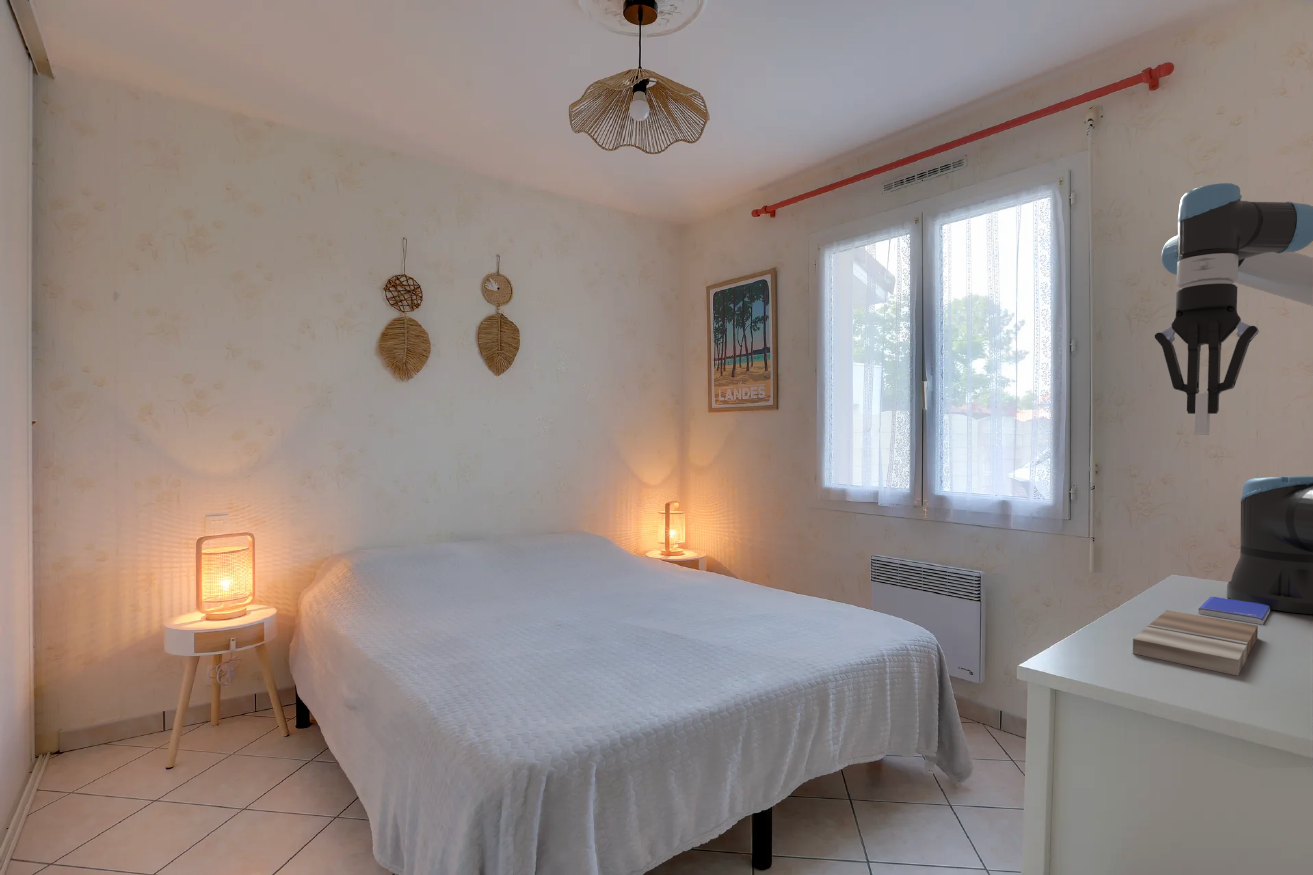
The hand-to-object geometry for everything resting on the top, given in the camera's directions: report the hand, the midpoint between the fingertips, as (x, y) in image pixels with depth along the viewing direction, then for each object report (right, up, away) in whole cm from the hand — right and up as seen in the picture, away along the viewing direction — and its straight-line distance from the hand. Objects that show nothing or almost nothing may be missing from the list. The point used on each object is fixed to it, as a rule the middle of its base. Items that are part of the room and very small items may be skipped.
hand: (1201, 434), depth 107 cm
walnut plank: (-5, -30, -7) cm, 32 cm away
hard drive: (+13, -31, +9) cm, 35 cm away
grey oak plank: (-14, -30, -15) cm, 37 cm away
